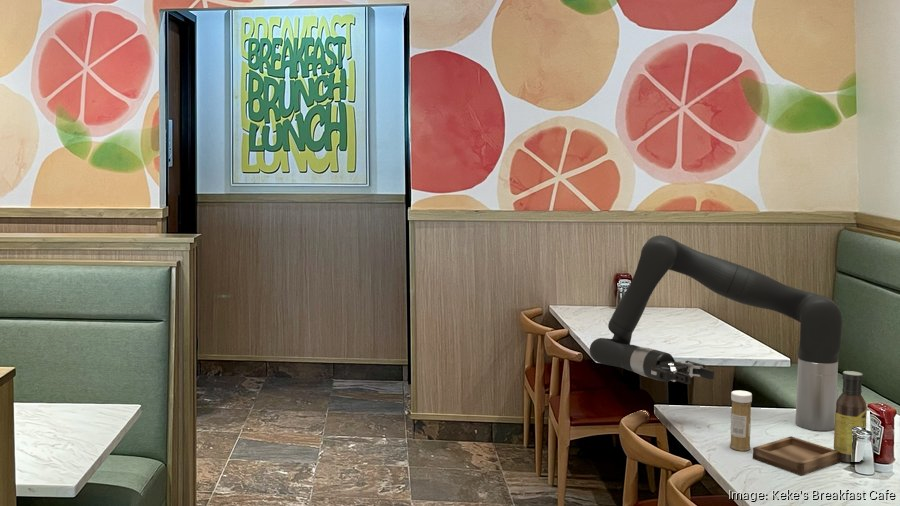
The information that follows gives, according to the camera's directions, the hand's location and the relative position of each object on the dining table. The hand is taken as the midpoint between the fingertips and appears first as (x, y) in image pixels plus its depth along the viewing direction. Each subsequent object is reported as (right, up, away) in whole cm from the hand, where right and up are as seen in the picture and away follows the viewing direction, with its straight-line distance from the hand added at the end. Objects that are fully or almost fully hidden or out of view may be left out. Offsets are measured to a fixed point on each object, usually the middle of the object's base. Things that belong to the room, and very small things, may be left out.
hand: (701, 377), depth 189 cm
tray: (+16, -16, -16) cm, 28 cm away
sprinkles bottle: (+6, -16, -8) cm, 19 cm away
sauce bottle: (+28, -16, -16) cm, 36 cm away
